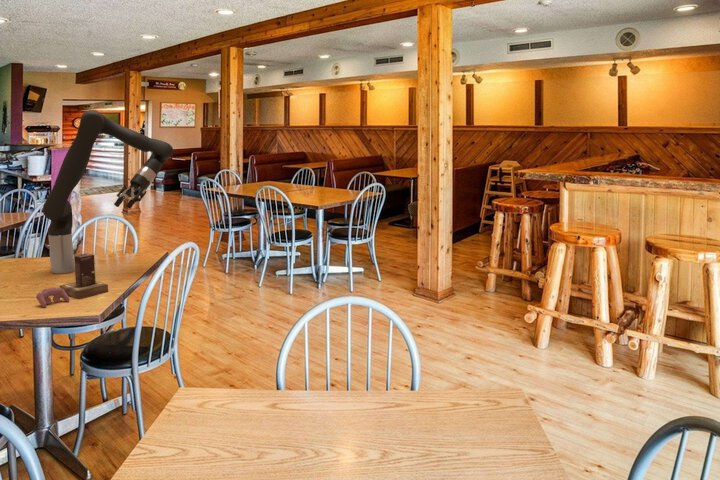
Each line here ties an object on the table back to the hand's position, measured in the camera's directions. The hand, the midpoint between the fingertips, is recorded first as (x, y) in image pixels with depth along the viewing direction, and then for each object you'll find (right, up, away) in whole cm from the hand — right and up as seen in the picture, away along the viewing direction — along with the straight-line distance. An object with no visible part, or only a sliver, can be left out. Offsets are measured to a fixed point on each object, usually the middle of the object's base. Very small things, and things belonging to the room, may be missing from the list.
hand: (121, 206), depth 232 cm
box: (-5, -32, -21) cm, 39 cm away
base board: (-5, -35, -21) cm, 41 cm away
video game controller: (-10, -38, -35) cm, 53 cm away
